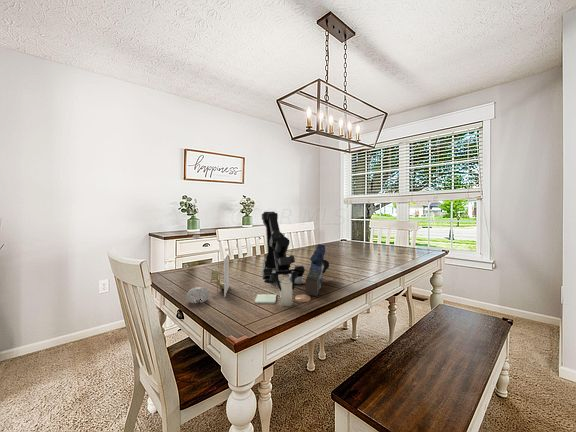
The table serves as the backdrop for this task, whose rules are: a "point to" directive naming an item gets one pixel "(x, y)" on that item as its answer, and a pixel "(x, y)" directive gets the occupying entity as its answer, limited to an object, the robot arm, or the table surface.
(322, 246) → the toy
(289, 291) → the stoneware bottle
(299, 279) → the white rounded cylinder
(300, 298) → the tan disc
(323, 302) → the table surface
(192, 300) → the pendant light
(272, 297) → the pad
